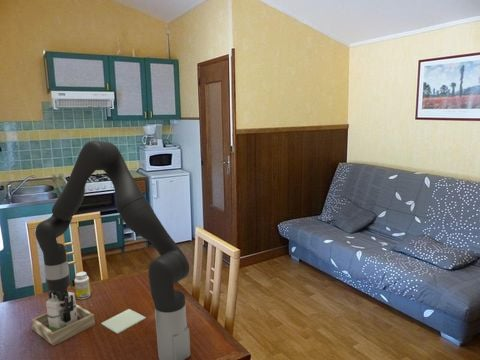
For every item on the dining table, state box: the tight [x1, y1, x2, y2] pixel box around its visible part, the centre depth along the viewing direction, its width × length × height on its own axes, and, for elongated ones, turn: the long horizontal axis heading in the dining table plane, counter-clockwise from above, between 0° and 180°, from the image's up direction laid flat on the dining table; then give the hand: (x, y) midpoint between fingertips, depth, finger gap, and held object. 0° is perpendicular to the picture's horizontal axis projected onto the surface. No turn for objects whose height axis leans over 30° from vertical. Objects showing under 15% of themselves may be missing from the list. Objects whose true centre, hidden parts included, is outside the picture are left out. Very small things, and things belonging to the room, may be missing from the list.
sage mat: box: [100, 308, 146, 335], centre depth 138 cm, size 10×12×1 cm
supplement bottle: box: [74, 271, 92, 300], centre depth 155 cm, size 6×6×10 cm
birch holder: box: [30, 303, 96, 346], centre depth 134 cm, size 15×15×4 cm
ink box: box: [45, 291, 79, 332], centre depth 134 cm, size 9×5×12 cm, turn 159°
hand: (62, 318), depth 134 cm, fingers closed on ink box, 6 cm apart
